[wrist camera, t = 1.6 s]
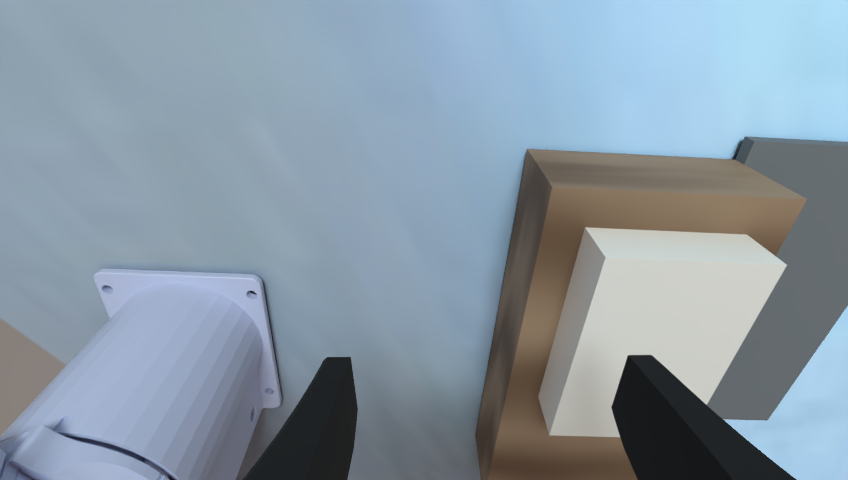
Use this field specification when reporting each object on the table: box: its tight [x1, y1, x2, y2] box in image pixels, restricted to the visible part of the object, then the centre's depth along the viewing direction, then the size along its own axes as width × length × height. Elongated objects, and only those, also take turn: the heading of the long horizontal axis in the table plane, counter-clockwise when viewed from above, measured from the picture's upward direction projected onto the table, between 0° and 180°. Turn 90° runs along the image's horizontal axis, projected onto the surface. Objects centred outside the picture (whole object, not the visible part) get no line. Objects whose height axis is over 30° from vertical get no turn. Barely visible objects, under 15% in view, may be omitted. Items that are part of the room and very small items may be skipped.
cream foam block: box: [538, 227, 787, 437], centre depth 17 cm, size 9×6×2 cm, turn 177°
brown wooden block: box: [476, 149, 807, 480], centre depth 21 cm, size 19×9×4 cm, turn 177°
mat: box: [707, 137, 848, 420], centre depth 22 cm, size 17×8×1 cm, turn 177°
